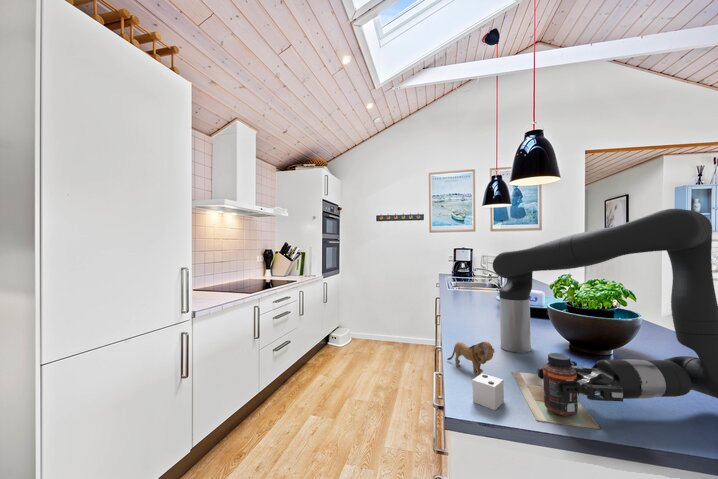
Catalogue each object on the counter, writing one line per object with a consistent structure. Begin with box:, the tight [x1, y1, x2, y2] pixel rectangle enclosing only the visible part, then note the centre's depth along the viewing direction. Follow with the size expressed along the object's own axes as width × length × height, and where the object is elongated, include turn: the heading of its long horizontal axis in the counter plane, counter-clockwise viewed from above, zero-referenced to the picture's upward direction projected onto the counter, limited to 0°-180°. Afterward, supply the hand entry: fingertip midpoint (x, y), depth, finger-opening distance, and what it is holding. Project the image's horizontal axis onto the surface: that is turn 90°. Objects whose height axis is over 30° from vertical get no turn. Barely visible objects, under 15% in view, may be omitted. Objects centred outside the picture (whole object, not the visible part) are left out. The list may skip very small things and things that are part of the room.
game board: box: [511, 371, 601, 430], centre depth 71 cm, size 11×24×1 cm, turn 164°
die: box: [472, 372, 505, 411], centre depth 69 cm, size 5×5×5 cm
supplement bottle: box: [542, 352, 579, 416], centre depth 64 cm, size 6×6×11 cm
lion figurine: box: [446, 341, 496, 376], centre depth 88 cm, size 15×5×9 cm, turn 39°
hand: (547, 380), depth 64 cm, fingers closed on supplement bottle, 6 cm apart
